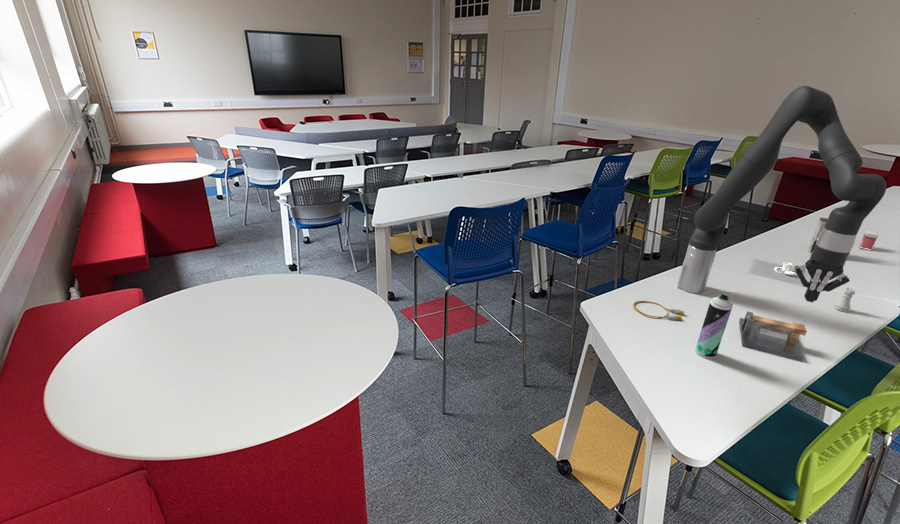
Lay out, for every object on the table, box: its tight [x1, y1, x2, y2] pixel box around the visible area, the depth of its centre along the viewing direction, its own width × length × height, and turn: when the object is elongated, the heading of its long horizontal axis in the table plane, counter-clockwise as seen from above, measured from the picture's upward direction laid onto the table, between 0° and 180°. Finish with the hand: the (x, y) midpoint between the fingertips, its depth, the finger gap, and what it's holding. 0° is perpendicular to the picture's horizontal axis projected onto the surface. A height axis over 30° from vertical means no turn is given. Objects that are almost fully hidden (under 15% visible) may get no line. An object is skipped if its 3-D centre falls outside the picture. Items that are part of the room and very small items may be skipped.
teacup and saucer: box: [773, 261, 797, 277], centre depth 185 cm, size 9×8×4 cm
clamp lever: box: [745, 313, 808, 337], centre depth 136 cm, size 15×4×2 cm, turn 62°
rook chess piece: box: [833, 287, 856, 313], centre depth 156 cm, size 4×4×8 cm
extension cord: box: [632, 300, 685, 321], centre depth 152 cm, size 12×16×2 cm
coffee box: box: [807, 217, 828, 255], centre depth 201 cm, size 9×6×16 cm
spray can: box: [694, 292, 734, 360], centre depth 127 cm, size 6×6×20 cm
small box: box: [858, 230, 879, 250], centre depth 211 cm, size 5×4×8 cm
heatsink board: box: [738, 311, 804, 362], centre depth 137 cm, size 15×16×7 cm
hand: (809, 300), depth 129 cm, fingers closed
